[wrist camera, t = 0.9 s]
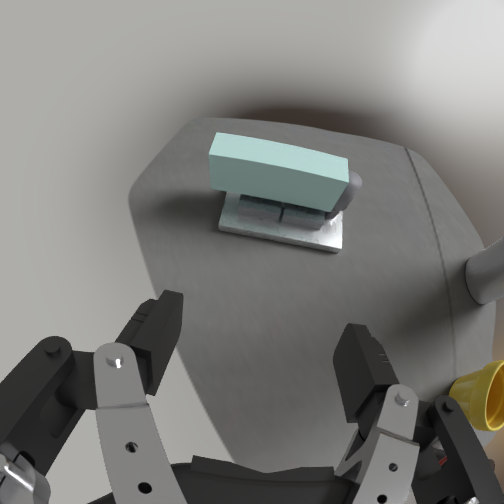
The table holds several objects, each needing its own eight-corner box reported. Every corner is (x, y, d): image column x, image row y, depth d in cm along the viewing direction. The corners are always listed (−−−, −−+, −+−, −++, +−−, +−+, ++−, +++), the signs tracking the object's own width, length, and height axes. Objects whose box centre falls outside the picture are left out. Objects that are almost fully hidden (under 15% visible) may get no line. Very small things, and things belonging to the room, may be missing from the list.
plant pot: (458, 435, 25) (500, 440, 16) (429, 412, 27) (476, 416, 18) (483, 382, 29) (524, 377, 20) (457, 354, 31) (502, 345, 22)
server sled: (338, 193, 39) (347, 178, 36) (337, 253, 36) (348, 241, 32) (233, 171, 39) (234, 154, 36) (218, 230, 35) (218, 216, 32)
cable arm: (346, 194, 34) (365, 164, 29) (347, 216, 33) (367, 187, 27) (217, 167, 34) (216, 132, 28) (210, 188, 33) (208, 154, 27)
